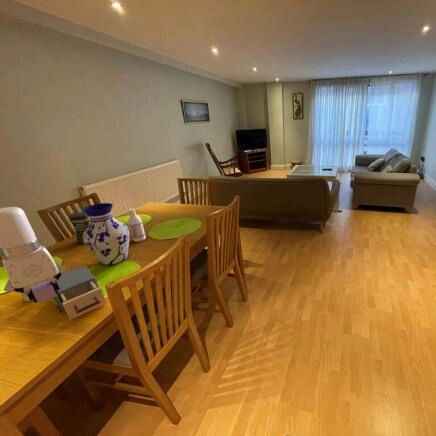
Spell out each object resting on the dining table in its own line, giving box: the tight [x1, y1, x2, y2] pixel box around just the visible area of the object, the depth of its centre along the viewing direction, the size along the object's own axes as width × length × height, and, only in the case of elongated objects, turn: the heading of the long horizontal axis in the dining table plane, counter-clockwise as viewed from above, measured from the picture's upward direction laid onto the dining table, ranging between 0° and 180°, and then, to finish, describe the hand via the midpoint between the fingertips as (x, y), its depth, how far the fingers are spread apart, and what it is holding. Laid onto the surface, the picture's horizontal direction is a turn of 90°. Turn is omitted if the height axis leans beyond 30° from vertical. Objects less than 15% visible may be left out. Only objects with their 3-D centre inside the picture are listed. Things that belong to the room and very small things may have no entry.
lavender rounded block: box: [31, 280, 57, 304], centre depth 78 cm, size 4×4×4 cm
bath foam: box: [127, 208, 147, 243], centre depth 145 cm, size 7×7×20 cm
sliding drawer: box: [59, 281, 107, 321], centre depth 93 cm, size 18×11×7 cm, turn 52°
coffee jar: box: [68, 211, 90, 244], centre depth 145 cm, size 10×8×19 cm
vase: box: [81, 202, 131, 266], centre depth 122 cm, size 19×19×30 cm
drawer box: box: [47, 265, 100, 313], centre depth 100 cm, size 15×13×9 cm
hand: (46, 295), depth 79 cm, fingers closed on lavender rounded block, 4 cm apart
